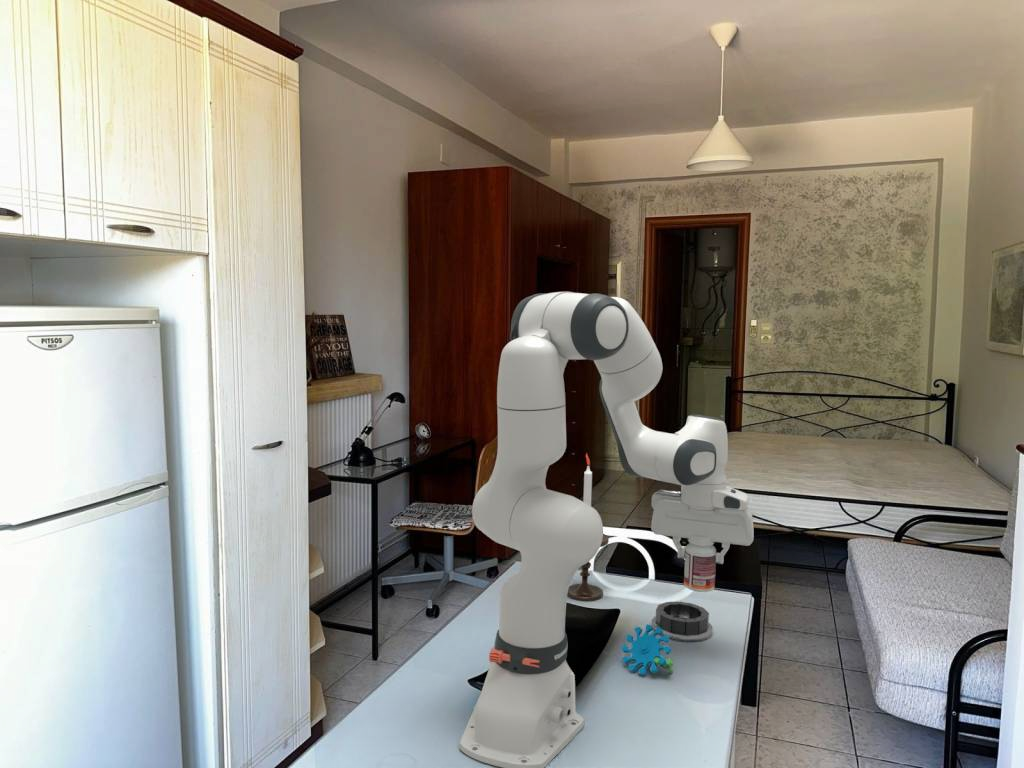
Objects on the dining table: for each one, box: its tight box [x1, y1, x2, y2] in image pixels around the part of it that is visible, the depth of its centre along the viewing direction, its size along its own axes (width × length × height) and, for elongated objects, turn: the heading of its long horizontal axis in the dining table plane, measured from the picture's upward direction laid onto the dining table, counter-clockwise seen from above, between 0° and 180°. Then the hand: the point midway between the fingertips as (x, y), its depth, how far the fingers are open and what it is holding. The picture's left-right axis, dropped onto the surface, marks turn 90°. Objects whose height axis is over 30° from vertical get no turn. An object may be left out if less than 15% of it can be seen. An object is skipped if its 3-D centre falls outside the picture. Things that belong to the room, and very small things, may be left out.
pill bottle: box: [683, 535, 717, 593], centre depth 147 cm, size 6×6×11 cm
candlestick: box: [567, 452, 610, 602], centre depth 175 cm, size 11×11×35 cm
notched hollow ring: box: [650, 600, 714, 643], centre depth 157 cm, size 13×13×4 cm
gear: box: [620, 623, 675, 677], centre depth 139 cm, size 11×6×10 cm
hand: (700, 560), depth 147 cm, fingers closed on pill bottle, 6 cm apart
